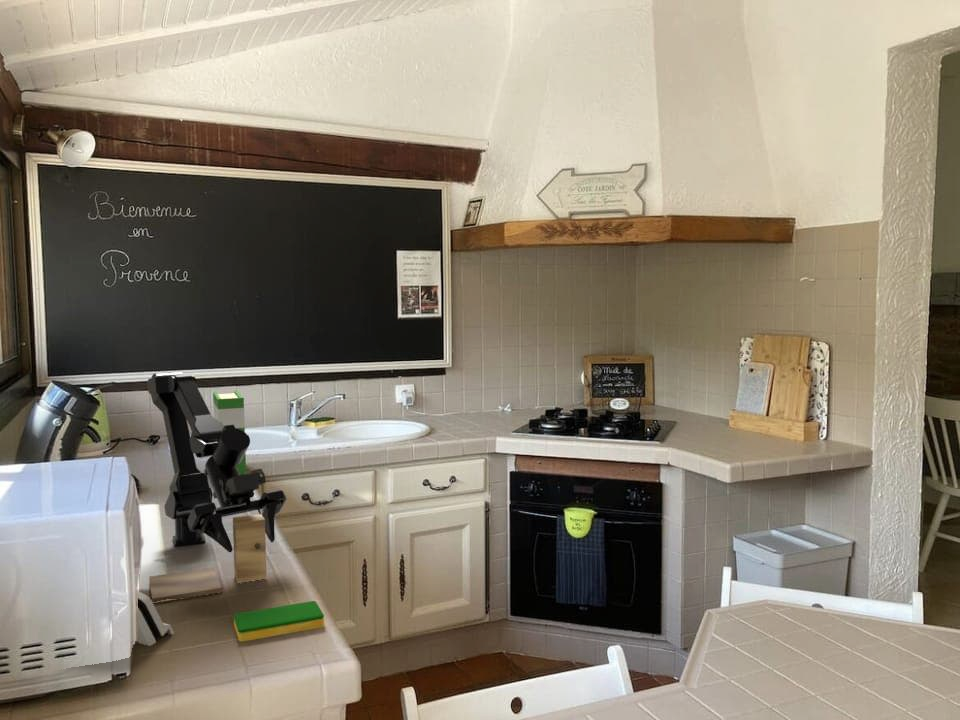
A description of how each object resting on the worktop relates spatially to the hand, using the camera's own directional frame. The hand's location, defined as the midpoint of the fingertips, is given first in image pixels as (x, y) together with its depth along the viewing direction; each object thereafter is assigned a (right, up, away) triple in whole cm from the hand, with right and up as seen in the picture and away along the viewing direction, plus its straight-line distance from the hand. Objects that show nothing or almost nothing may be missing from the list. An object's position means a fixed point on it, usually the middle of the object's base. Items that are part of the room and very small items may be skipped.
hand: (252, 546), depth 153 cm
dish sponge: (+10, -9, -20) cm, 24 cm away
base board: (-12, -7, -3) cm, 14 cm away
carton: (-33, +1, +92) cm, 98 cm away
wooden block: (-1, -7, +2) cm, 7 cm away
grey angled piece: (-15, -9, -23) cm, 29 cm away
